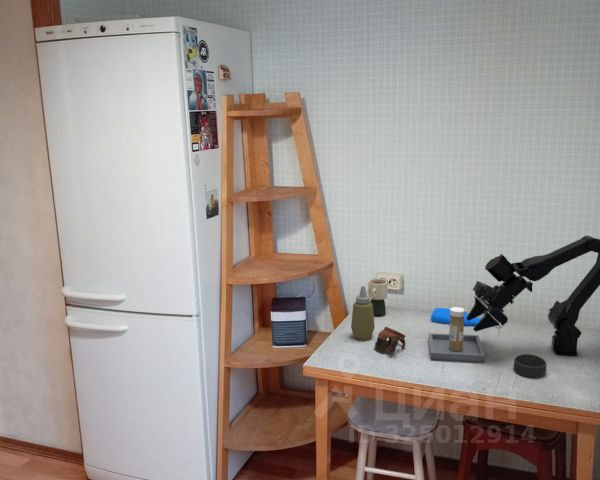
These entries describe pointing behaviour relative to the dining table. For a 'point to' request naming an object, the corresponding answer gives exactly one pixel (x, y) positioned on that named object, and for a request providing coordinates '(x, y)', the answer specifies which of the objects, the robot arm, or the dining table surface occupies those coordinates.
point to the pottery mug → (392, 342)
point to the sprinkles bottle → (456, 328)
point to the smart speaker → (530, 365)
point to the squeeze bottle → (362, 316)
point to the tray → (468, 354)
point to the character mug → (378, 295)
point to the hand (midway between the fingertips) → (470, 324)
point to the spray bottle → (444, 317)
